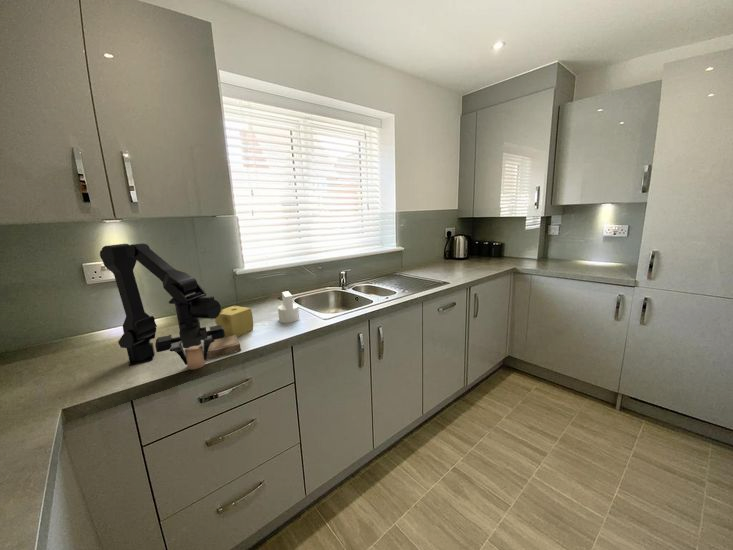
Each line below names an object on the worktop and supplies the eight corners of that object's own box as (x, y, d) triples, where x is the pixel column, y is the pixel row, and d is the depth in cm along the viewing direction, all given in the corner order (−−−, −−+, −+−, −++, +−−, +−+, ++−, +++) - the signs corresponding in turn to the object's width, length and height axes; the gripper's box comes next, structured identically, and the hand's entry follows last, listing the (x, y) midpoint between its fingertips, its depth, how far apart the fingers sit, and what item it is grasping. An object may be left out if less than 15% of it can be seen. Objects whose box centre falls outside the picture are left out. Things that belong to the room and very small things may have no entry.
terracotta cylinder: (187, 371, 93) (184, 353, 92) (187, 364, 97) (184, 347, 96) (205, 366, 96) (202, 349, 94) (204, 360, 100) (202, 343, 99)
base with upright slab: (277, 317, 138) (275, 293, 135) (297, 314, 141) (294, 290, 139) (280, 324, 130) (278, 298, 127) (301, 320, 133) (299, 294, 131)
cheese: (216, 335, 120) (212, 312, 118) (238, 326, 130) (235, 304, 127) (233, 339, 115) (230, 315, 113) (255, 329, 125) (252, 307, 123)
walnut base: (209, 358, 101) (208, 351, 100) (207, 347, 109) (206, 340, 109) (240, 350, 106) (239, 343, 105) (236, 340, 114) (235, 334, 114)
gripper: (149, 332, 82) (159, 382, 85) (223, 317, 91) (230, 363, 94) (152, 320, 91) (162, 366, 94) (219, 308, 100) (226, 350, 104)
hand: (196, 361), depth 96 cm, fingers closed on terracotta cylinder, 5 cm apart
